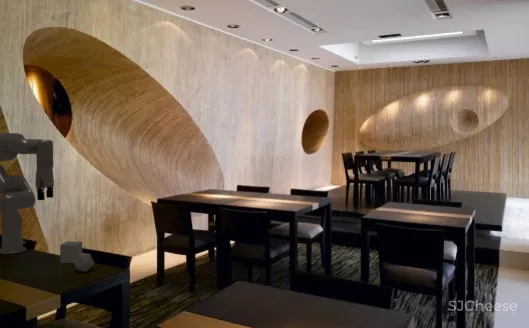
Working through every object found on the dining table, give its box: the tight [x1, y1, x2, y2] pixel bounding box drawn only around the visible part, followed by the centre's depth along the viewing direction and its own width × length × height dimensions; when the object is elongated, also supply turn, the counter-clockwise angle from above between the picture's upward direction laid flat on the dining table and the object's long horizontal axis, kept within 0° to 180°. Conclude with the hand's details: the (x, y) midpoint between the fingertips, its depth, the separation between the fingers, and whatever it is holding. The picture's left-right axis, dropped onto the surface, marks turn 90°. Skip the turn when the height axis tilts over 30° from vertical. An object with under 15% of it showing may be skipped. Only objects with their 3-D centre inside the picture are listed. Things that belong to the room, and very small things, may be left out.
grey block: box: [59, 241, 83, 264], centre depth 218 cm, size 8×8×9 cm
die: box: [73, 252, 95, 273], centre depth 203 cm, size 8×9×10 cm
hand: (45, 198), depth 220 cm, fingers open, 9 cm apart
